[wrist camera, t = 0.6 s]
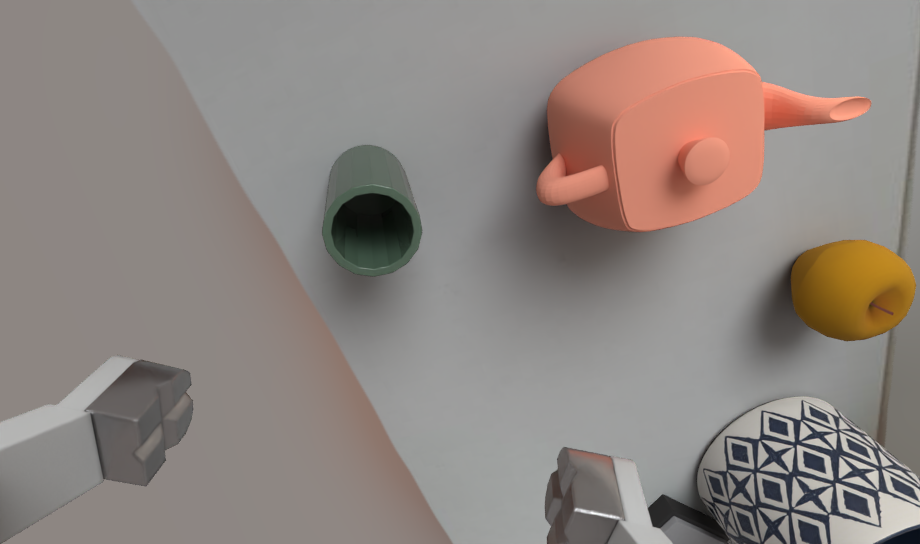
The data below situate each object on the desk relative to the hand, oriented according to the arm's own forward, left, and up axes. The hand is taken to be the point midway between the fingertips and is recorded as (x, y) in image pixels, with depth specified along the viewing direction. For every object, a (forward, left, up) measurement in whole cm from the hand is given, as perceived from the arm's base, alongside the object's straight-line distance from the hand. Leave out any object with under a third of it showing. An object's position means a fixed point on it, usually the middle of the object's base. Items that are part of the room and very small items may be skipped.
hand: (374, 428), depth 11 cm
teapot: (+13, -16, -30) cm, 36 cm away
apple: (+14, -41, -30) cm, 52 cm away
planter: (-4, -58, -30) cm, 65 cm away
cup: (-2, -2, -30) cm, 30 cm away
